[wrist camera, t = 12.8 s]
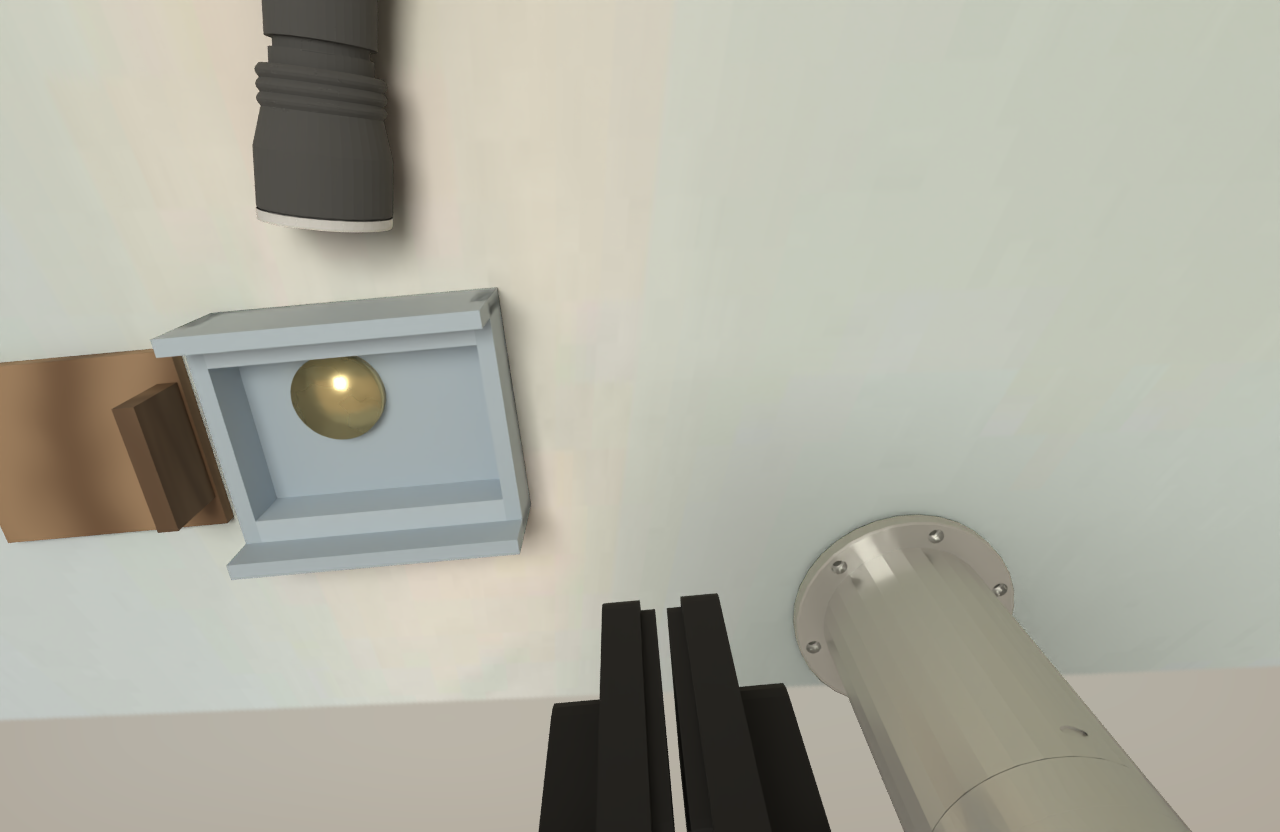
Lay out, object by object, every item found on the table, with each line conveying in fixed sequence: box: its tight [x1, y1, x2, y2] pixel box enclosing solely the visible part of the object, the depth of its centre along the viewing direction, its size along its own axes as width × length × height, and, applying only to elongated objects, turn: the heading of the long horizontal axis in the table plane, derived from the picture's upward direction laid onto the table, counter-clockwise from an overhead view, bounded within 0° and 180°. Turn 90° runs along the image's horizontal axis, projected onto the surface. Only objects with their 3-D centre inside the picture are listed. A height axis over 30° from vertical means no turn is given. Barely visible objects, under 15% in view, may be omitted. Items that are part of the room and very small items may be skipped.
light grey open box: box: [150, 287, 531, 580], centre depth 35 cm, size 14×12×5 cm
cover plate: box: [0, 349, 234, 543], centre depth 36 cm, size 12×10×5 cm
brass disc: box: [290, 356, 386, 440], centre depth 36 cm, size 4×4×1 cm
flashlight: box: [253, 0, 393, 232], centre depth 29 cm, size 15×5×5 cm, turn 173°
